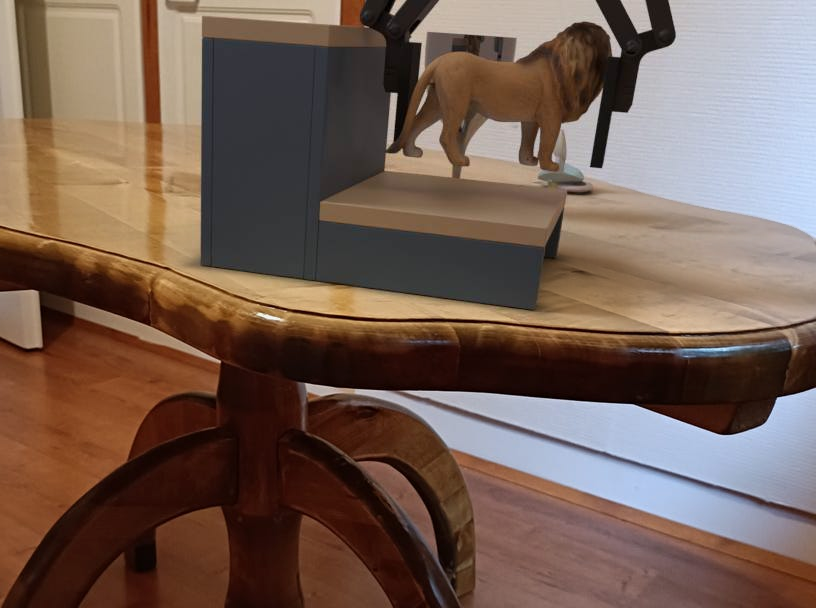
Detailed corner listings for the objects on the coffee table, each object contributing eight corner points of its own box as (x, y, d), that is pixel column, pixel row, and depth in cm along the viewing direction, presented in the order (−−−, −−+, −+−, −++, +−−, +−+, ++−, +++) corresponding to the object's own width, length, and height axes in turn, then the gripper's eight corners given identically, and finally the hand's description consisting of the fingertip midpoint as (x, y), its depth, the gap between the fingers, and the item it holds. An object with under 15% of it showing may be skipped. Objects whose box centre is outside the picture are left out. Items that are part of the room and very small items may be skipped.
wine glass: (494, 219, 86) (518, 38, 80) (406, 211, 87) (423, 31, 81) (495, 205, 93) (516, 38, 87) (413, 198, 94) (429, 32, 88)
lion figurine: (572, 163, 68) (594, 23, 64) (610, 174, 63) (636, 24, 59) (373, 156, 64) (384, 7, 60) (398, 167, 59) (412, 6, 55)
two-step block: (556, 256, 73) (590, 43, 67) (534, 310, 58) (576, 41, 52) (284, 223, 78) (292, 22, 72) (200, 265, 63) (201, 15, 57)
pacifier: (594, 189, 109) (541, 182, 111) (606, 132, 107) (552, 125, 108) (588, 198, 103) (533, 190, 104) (601, 137, 100) (543, 130, 102)
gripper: (324, -255, 54) (305, 143, 63) (783, -255, 49) (691, 182, 57) (358, -222, 61) (337, 134, 70) (766, -219, 55) (686, 168, 64)
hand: (497, 156), depth 64 cm, fingers closed on lion figurine, 12 cm apart
